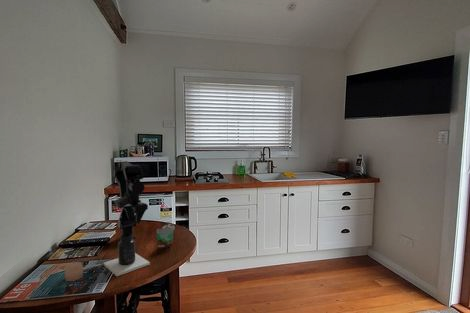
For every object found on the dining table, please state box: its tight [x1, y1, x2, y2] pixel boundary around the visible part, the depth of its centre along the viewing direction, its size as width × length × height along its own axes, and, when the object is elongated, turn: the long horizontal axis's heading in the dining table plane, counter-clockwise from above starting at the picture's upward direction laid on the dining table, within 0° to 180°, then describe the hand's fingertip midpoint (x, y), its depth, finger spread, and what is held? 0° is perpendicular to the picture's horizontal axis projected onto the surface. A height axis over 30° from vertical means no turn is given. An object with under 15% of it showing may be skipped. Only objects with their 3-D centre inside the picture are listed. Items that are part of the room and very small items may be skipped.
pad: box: [103, 252, 151, 277], centre depth 116 cm, size 14×14×1 cm
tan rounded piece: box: [64, 261, 84, 282], centre depth 105 cm, size 6×6×5 cm
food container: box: [156, 221, 175, 249], centre depth 137 cm, size 12×6×10 cm, turn 168°
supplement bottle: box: [117, 233, 136, 265], centre depth 116 cm, size 7×7×12 cm
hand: (133, 221), depth 134 cm, fingers open, 9 cm apart
